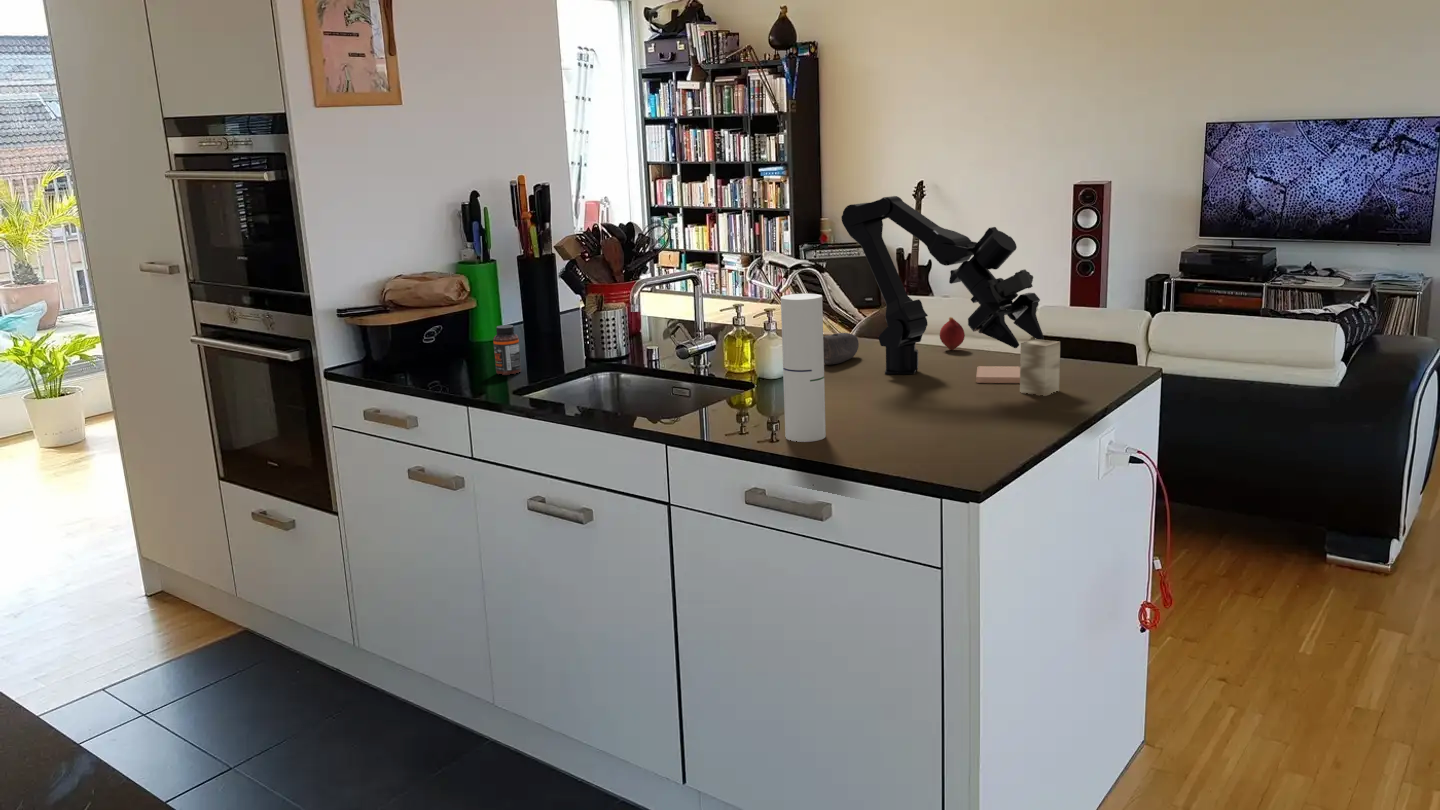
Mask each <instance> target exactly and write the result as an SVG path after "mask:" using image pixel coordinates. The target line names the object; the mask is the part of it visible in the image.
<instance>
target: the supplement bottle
mask: <svg viewBox="0 0 1440 810" xmlns="http://www.w3.org/2000/svg"><path fill="white" fill-rule="evenodd" d="M495 329H496V335H494V337H493V339H492V340H493V343H492V344H493V350H494V351H493V352H494V364H495V371H496V372H495V373H496V374H497V375H499V374H502V375H501V376H511V375H510V374H514V375H517V374H516V373H518V374H520V373H521V371H522V361H521V351H520V350H521V349H520V342H519V341H520V339H519V336H518V334H516V333H515V332H514V331H515V328H514V325H511V324H502V325H497V326H496V328H495ZM519 372H520V373H519Z"/></svg>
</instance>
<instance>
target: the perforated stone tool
mask: <svg viewBox="0 0 1440 810" xmlns="http://www.w3.org/2000/svg"><path fill="white" fill-rule="evenodd" d="M859 345H860V343H859V339H858V337H857V336H856V335H855V334H852V333H849V332H840V333H833V334H830V335H828V334H827V335H823V349H824V365H829V366H830V365H838V364H841V363H844V362H846V361H849V360H850V359H852V358H853V357H854V356H856V354H857V352H858V350H859Z"/></svg>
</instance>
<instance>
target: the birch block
mask: <svg viewBox="0 0 1440 810" xmlns="http://www.w3.org/2000/svg"><path fill="white" fill-rule="evenodd" d="M1060 360H1061V341H1060V340H1059V341H1057V340H1048V339H1043V340H1040V339H1036V338H1034V339H1031V340H1027V341H1024V342H1020V363H1019V364H1020V365H1019V366H1020V383H1019V393H1020V392H1021V393H1020V394H1026V393H1028V394H1027V395H1033V394H1036V395H1035V396H1040V395H1043V396H1042V397H1046V396H1049V395H1052V394H1054V393H1053V392H1055V393H1057V392H1056V391H1058V392H1060V370H1061V369H1060V368H1061V367H1060V366H1061V364H1060V363H1061V361H1060ZM1051 393H1052V394H1051Z"/></svg>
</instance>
